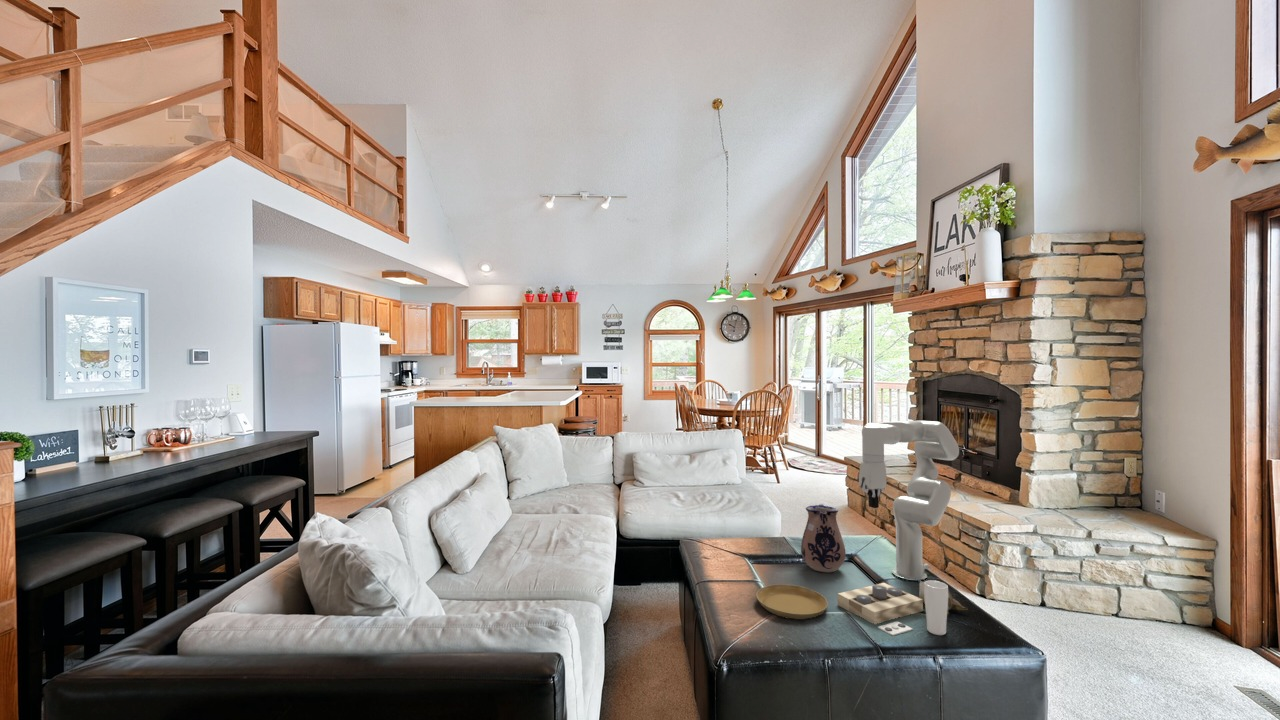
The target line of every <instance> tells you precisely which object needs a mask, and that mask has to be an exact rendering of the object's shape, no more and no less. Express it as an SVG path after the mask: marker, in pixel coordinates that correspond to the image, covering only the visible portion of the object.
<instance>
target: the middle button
mask: <svg viewBox="0 0 1280 720" xmlns="http://www.w3.org/2000/svg"><path fill="white" fill-rule="evenodd" d="M871 586H872V585H871ZM872 597H873V598H875V599H877V600H879V601H883V600H887V588H886V587H884V586H880V585H876V584H874V586H872Z"/></svg>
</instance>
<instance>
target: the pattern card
mask: <svg viewBox="0 0 1280 720" xmlns="http://www.w3.org/2000/svg"><path fill="white" fill-rule="evenodd" d="M877 629H879V630H881V631H883V632H884V633H887V634H888V635H890V636H894V637H895V636H897V635H900V634H904V633H907V632H912V631H913V630H914V629H913V628H912V627H911V626H908V625H906V624H904V623H902V622H900V621H898V620H897V621H892V622H890V623H887V624H883V625H879V626H877Z"/></svg>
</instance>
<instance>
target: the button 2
mask: <svg viewBox="0 0 1280 720" xmlns="http://www.w3.org/2000/svg"><path fill="white" fill-rule="evenodd" d="M894 587H895V586H893V587H890V588H888V594H890V595H892V596H895V597H898V596H902V591H903V590H902V589H901V588H899V587H895V588H894Z"/></svg>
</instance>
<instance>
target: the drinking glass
mask: <svg viewBox="0 0 1280 720" xmlns="http://www.w3.org/2000/svg"><path fill="white" fill-rule="evenodd" d="M923 582H924V599H925V604H924V607H925V615H926V616H925V619H926V630H927V631H928V632H929V633H930V634H933V635H936V636H944V635H946V633H947V623H948V615H947V610H948V592H949V586H948V584H946V583H945V582H942V581H939V580H934V579H933V580H931V579H930V580H924V581H923ZM948 611H949V610H948Z"/></svg>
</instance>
